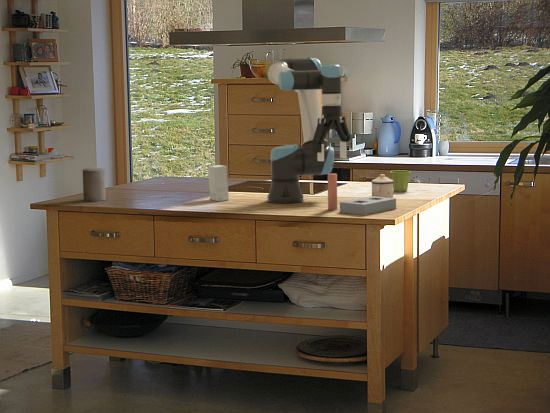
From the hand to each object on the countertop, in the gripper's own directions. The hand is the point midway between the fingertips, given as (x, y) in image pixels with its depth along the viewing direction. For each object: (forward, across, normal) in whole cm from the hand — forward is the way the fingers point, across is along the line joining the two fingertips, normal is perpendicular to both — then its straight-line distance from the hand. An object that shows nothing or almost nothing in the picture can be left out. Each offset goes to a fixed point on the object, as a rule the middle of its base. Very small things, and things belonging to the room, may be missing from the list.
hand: (332, 159), depth 370 cm
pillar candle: (+20, -40, +102) cm, 111 cm away
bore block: (+20, +6, -13) cm, 24 cm away
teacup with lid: (+20, +25, -5) cm, 32 cm away
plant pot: (+20, +60, +11) cm, 64 cm away
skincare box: (+20, -8, +57) cm, 61 cm away
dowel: (+20, 0, 0) cm, 20 cm away
